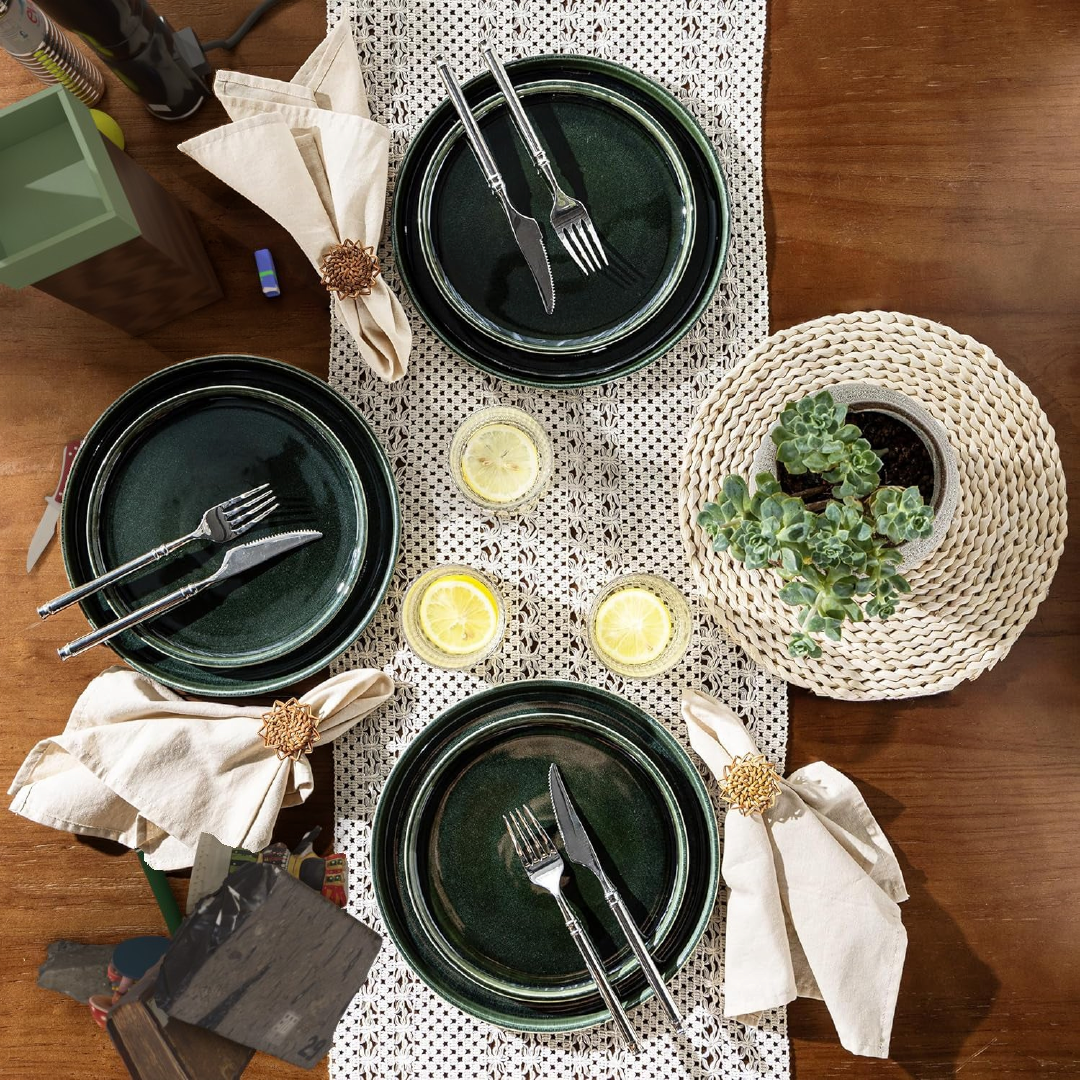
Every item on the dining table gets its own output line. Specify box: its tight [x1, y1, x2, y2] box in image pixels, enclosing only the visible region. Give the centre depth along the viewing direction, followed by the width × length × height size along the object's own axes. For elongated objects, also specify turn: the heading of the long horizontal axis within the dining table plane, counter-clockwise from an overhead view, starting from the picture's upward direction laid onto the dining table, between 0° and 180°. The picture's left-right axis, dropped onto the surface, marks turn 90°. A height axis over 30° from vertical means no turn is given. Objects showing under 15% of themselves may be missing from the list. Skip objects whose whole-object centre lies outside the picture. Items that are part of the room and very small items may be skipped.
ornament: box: [89, 108, 125, 151], centre depth 110 cm, size 7×7×10 cm
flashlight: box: [134, 847, 187, 938], centre depth 112 cm, size 5×5×20 cm
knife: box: [26, 440, 84, 574], centre depth 114 cm, size 20×1×3 cm
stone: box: [35, 939, 134, 1006], centre depth 110 cm, size 18×9×10 cm
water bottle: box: [0, 0, 106, 109], centre depth 103 cm, size 7×7×25 cm
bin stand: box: [29, 128, 225, 337], centre depth 102 cm, size 14×14×24 cm
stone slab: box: [154, 862, 384, 1072], centre depth 101 cm, size 18×9×30 cm
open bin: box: [0, 82, 142, 291], centre depth 88 cm, size 16×16×5 cm
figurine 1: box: [88, 935, 172, 1030], centre depth 106 cm, size 12×9×8 cm
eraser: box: [254, 248, 281, 298], centre depth 113 cm, size 2×6×2 cm
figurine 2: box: [185, 825, 350, 915], centre depth 109 cm, size 12×15×20 cm
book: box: [105, 953, 258, 1080], centre depth 101 cm, size 17×7×25 cm, turn 25°
